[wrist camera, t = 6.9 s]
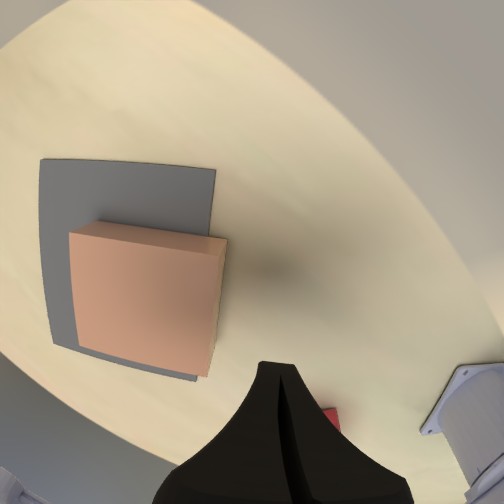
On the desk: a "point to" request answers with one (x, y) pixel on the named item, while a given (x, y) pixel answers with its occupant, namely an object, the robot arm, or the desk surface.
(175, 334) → the salmon tan block
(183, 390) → the desk surface
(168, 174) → the rubber mat
